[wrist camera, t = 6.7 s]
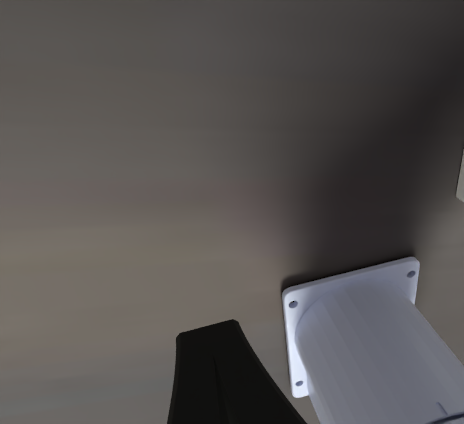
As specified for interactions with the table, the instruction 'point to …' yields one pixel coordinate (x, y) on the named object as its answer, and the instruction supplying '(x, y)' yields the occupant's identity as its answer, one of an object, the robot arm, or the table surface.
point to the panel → (461, 182)
